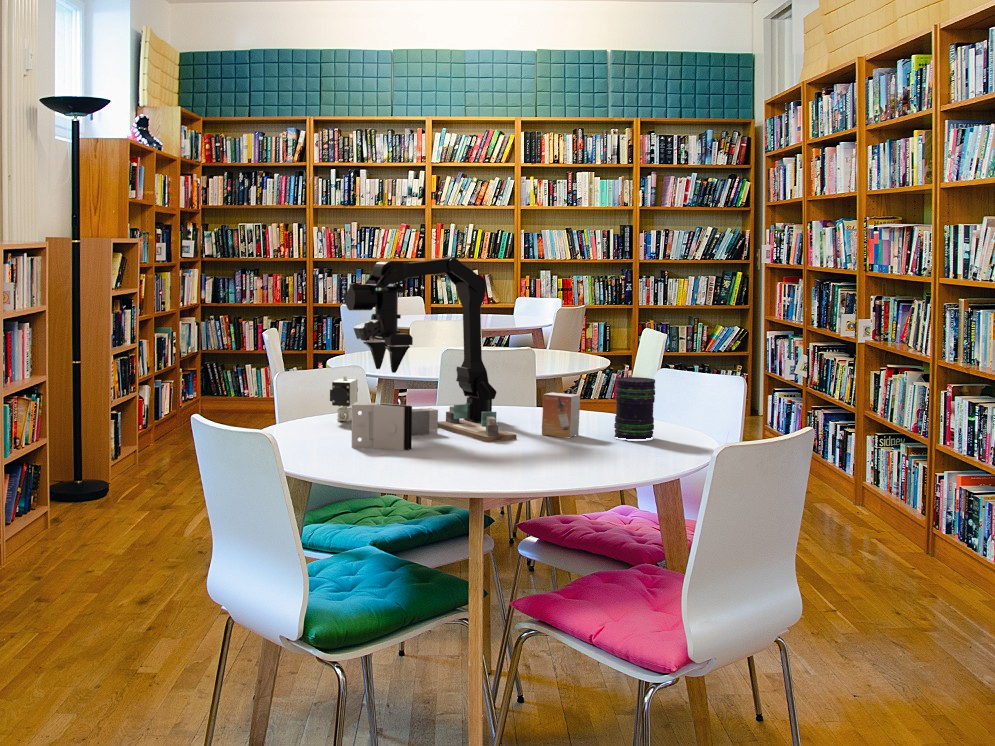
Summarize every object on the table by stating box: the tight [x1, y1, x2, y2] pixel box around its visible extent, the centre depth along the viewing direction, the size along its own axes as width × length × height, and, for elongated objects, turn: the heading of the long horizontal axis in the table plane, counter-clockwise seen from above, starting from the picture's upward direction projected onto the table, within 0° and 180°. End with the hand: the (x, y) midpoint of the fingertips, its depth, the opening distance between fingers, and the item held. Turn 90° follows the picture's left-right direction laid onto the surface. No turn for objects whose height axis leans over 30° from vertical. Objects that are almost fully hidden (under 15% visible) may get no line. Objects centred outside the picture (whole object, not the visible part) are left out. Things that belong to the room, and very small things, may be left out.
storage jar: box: [613, 376, 656, 439], centre depth 267 cm, size 10×10×15 cm
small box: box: [541, 391, 581, 438], centre depth 270 cm, size 8×6×10 cm
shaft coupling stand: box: [438, 403, 518, 443], centre depth 271 cm, size 9×26×6 cm, turn 32°
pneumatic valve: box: [329, 375, 359, 423], centre depth 286 cm, size 6×12×12 cm, turn 174°
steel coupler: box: [412, 407, 439, 437], centre depth 268 cm, size 10×4×6 cm, turn 122°
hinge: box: [351, 402, 413, 451], centre depth 248 cm, size 14×5×10 cm, turn 80°
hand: (385, 370), depth 276 cm, fingers open, 9 cm apart
